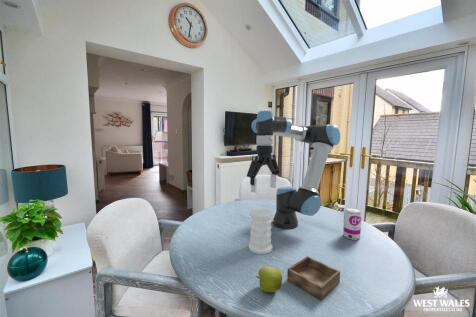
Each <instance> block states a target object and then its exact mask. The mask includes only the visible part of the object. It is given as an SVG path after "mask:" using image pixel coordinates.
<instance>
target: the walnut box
mask: <svg viewBox="0 0 476 317" xmlns="http://www.w3.org/2000/svg"><path fill="white" fill-rule="evenodd" d="M286 272H287V274H286V275H287V277H286V278H287V279H286V280H287V281H288V282H289V283H291V284H293V285H294V286H296V287H298V288H299V289H301V290H302V291H305V293H308V294H310V295H311V296H313V297H314V298H316V299H318V301H322V300H324V298H326V297H327V295H329V293H330V292H332V291H333V290H334V289H335V288H336V287H337V286H338V285H339V284H340V283H341V282H340V280H341V271H340V270H338V269H336V268H334V267H332V266H330V265H327V264H326V263H323V262H322V261H319V260H317V259H315V258H312V257H311V256H308V255H307V256H305V257H304V258H302V259H301V260H299V261H298V262H296V263H294V264H293V265H291V266H290V267H288V268H287V271H286Z"/></svg>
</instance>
